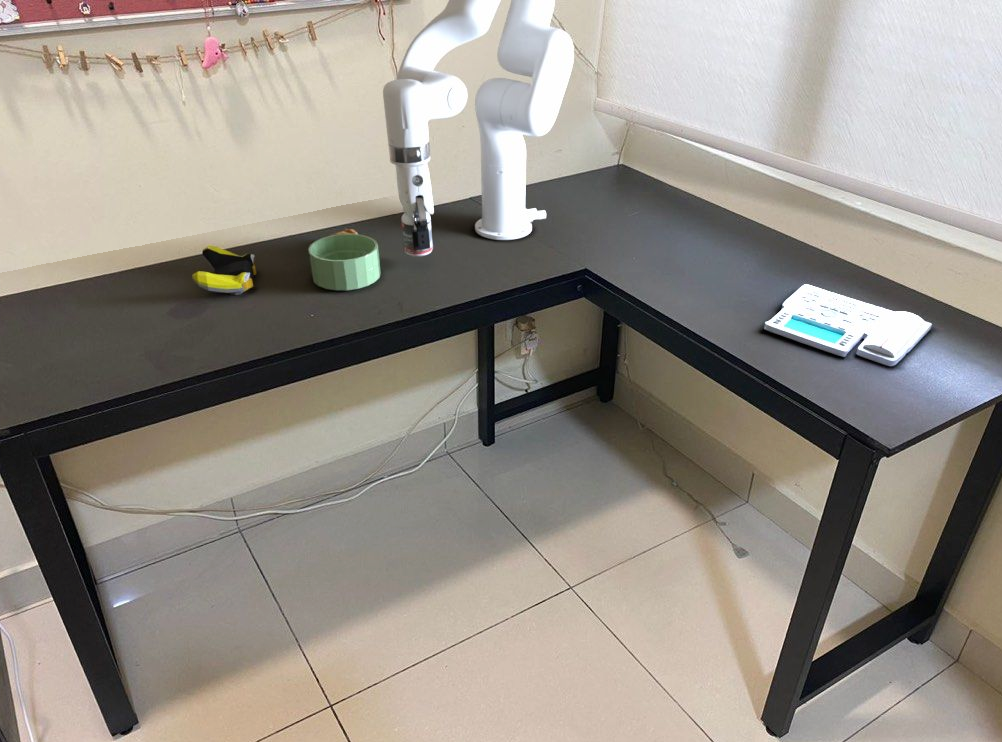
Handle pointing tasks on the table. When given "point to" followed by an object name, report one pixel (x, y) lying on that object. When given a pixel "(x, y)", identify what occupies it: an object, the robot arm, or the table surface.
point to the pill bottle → (407, 235)
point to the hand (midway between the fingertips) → (417, 241)
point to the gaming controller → (226, 272)
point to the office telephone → (847, 325)
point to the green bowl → (344, 261)
